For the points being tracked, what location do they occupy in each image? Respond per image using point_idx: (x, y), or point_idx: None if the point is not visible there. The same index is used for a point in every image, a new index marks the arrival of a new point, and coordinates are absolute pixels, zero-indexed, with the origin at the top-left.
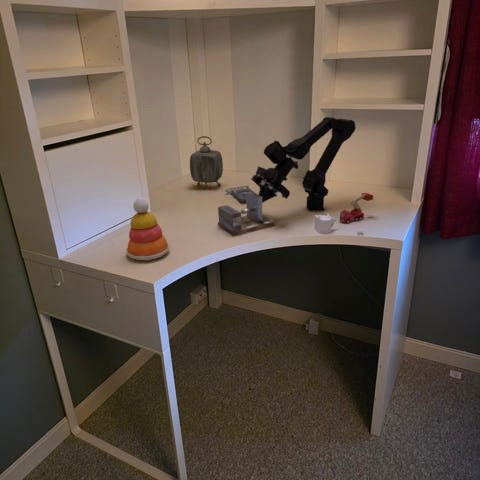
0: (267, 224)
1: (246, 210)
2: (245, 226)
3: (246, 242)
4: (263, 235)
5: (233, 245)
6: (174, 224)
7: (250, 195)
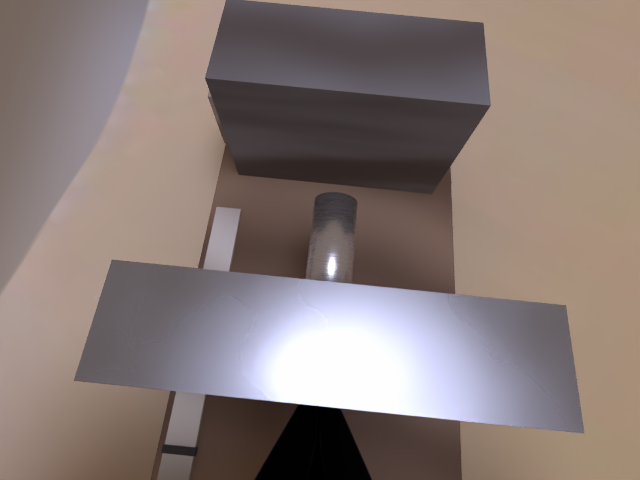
0: (172, 399)
1: (313, 237)
2: (257, 222)
3: (114, 132)
4: (99, 270)
5: (144, 67)
6: (593, 9)
7: (385, 293)
